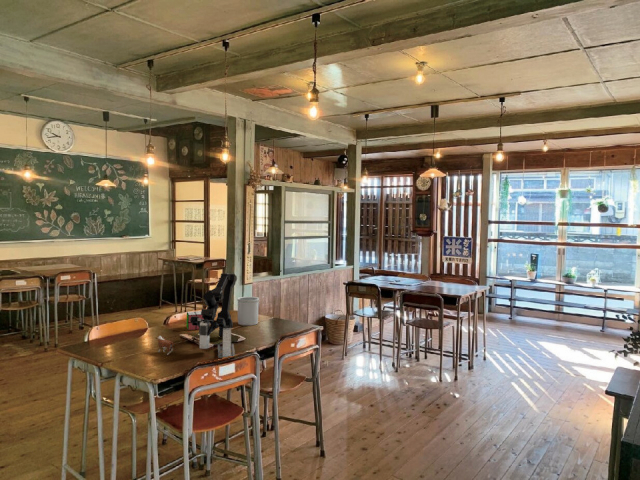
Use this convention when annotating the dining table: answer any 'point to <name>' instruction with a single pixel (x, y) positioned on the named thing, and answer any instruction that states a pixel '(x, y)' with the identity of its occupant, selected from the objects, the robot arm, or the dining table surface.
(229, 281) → the robot arm
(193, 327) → the puzzle cube
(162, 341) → the bull figurine
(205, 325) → the block
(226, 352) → the grey stepped block
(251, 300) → the utensil holder
